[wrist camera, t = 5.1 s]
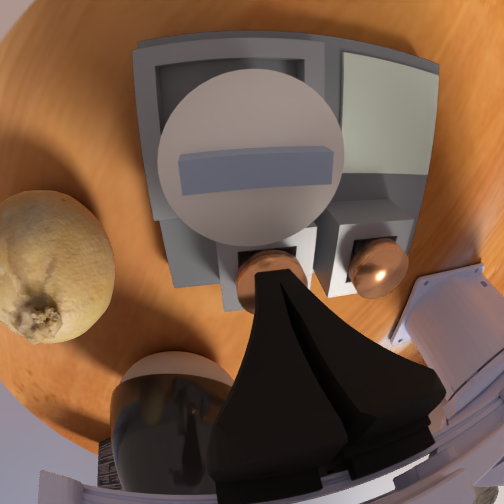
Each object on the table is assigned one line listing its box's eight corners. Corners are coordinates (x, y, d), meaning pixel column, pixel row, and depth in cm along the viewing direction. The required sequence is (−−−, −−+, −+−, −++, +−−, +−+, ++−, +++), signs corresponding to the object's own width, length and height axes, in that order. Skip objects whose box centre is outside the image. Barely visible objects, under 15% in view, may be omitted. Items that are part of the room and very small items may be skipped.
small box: (134, 453, 34) (134, 509, 26) (97, 442, 31) (94, 501, 23) (167, 442, 31) (171, 509, 23) (125, 429, 28) (123, 503, 19)
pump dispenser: (117, 316, 17) (93, 551, 5) (260, 342, 21) (308, 545, 8) (114, 386, 22) (107, 540, 10) (220, 402, 25) (240, 545, 13)
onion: (75, 308, 17) (46, 396, 11) (-6, 230, 12) (-65, 304, 6) (152, 247, 15) (131, 353, 9) (56, 140, 11) (-35, 198, 5)
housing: (421, 62, 11) (470, 68, 8) (395, 246, 17) (426, 281, 14) (145, 46, 9) (121, 33, 6) (175, 271, 16) (171, 319, 13)
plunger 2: (384, 215, 13) (415, 245, 11) (374, 260, 15) (399, 293, 13) (336, 218, 13) (362, 251, 11) (329, 267, 15) (350, 303, 12)
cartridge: (279, 75, 10) (359, 74, 4) (280, 167, 12) (342, 248, 7) (177, 81, 9) (141, 78, 4) (186, 174, 12) (171, 267, 6)
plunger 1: (291, 222, 13) (311, 257, 10) (288, 272, 14) (304, 311, 12) (228, 228, 12) (235, 266, 10) (232, 278, 14) (239, 320, 12)
